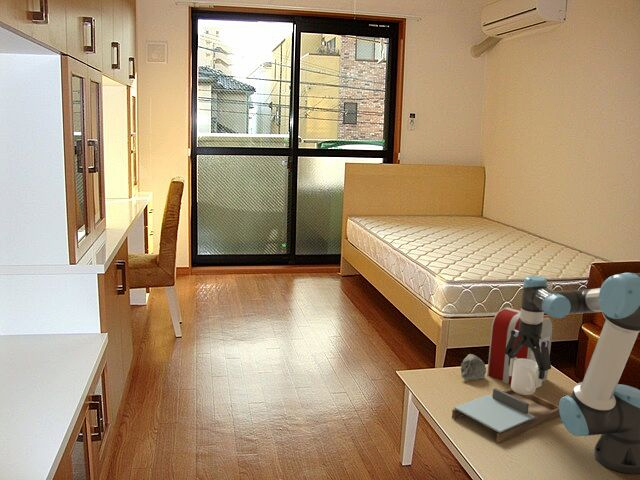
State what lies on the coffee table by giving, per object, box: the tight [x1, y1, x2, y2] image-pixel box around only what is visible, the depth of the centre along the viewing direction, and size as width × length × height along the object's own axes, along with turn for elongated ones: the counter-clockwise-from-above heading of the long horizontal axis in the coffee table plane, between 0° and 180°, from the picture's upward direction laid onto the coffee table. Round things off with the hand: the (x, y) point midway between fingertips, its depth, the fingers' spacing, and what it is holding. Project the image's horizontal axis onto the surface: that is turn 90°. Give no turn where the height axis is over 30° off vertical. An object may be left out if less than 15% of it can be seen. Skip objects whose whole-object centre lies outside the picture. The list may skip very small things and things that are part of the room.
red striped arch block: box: [486, 306, 553, 386], centre depth 248 cm, size 16×18×27 cm
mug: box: [510, 359, 538, 395], centre depth 220 cm, size 12×8×10 cm
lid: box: [453, 387, 535, 433], centre depth 213 cm, size 19×18×4 cm
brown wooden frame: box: [451, 387, 561, 444], centre depth 218 cm, size 20×34×3 cm, turn 126°
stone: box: [460, 353, 487, 382], centre depth 249 cm, size 10×10×10 cm
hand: (524, 380), depth 220 cm, fingers closed on mug, 10 cm apart
